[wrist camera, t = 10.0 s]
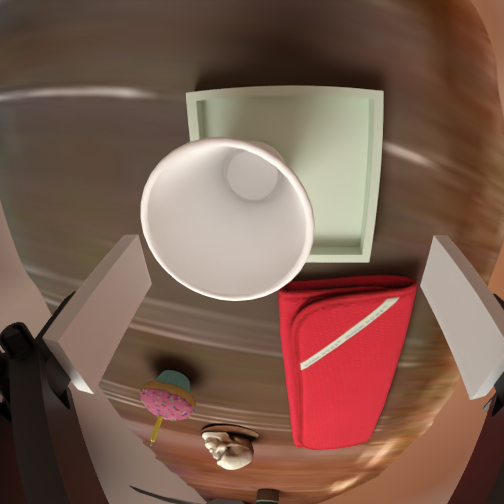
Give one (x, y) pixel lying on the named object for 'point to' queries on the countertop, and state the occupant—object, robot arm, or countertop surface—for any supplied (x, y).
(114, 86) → the countertop surface
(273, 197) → the cup
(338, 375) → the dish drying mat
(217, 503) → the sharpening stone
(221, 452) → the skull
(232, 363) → the countertop surface
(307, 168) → the tray
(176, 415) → the cupcake
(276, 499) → the beer bottle
